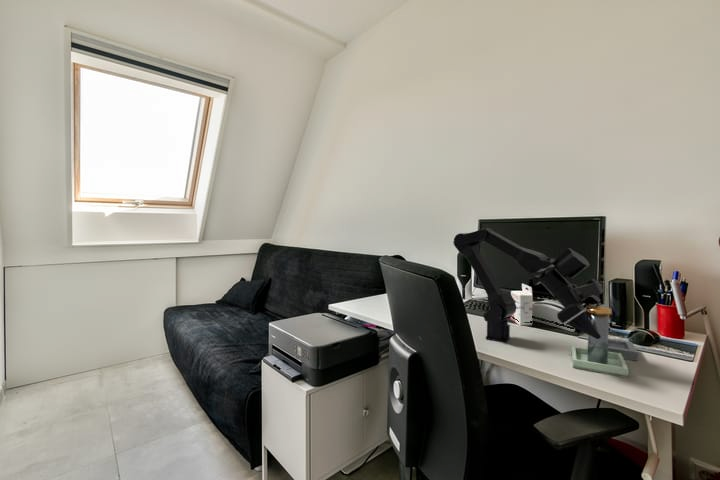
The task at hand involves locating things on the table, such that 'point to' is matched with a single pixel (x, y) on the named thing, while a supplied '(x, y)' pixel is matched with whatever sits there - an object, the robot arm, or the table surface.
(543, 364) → the table surface
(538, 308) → the grey arched block
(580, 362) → the tray
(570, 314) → the robot arm
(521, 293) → the ink cartridge box
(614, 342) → the frame
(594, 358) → the grey and gold cylinder
